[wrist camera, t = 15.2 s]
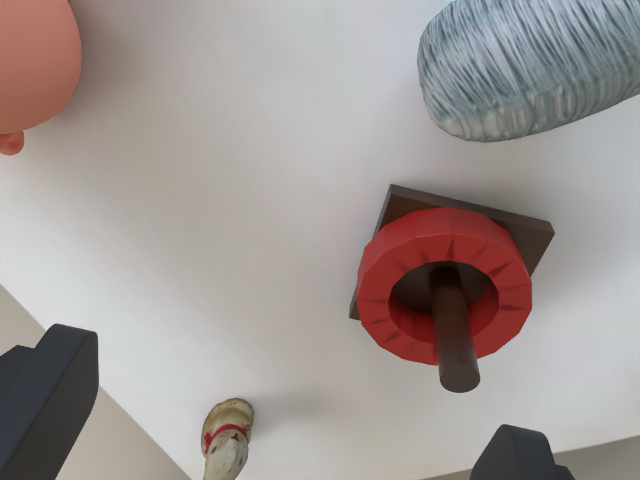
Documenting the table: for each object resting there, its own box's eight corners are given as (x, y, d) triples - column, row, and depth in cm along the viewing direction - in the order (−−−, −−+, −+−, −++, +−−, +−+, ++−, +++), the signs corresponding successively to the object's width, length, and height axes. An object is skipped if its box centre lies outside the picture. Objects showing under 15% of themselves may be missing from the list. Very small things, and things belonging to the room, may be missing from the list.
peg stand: (349, 306, 46) (341, 419, 37) (390, 183, 39) (393, 283, 30) (487, 337, 47) (514, 457, 37) (550, 221, 40) (603, 331, 30)
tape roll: (344, 317, 45) (342, 347, 42) (380, 191, 38) (380, 217, 35) (487, 346, 45) (494, 378, 42) (548, 226, 38) (561, 254, 36)
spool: (695, -144, 25) (732, 16, 21) (672, 17, 33) (695, 158, 28) (404, -59, 31) (386, 79, 27) (442, 61, 38) (433, 182, 34)
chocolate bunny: (277, 422, 55) (258, 519, 47) (218, 445, 58) (192, 539, 50) (242, 389, 53) (217, 485, 45) (184, 414, 56) (149, 508, 48)
